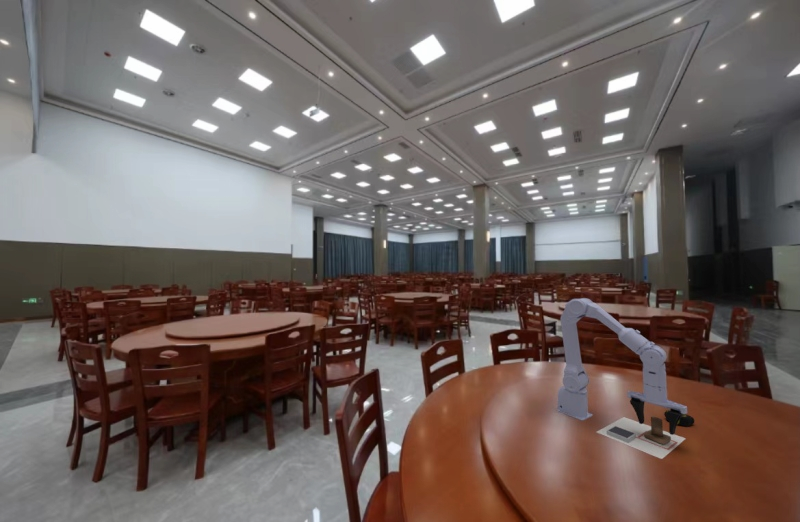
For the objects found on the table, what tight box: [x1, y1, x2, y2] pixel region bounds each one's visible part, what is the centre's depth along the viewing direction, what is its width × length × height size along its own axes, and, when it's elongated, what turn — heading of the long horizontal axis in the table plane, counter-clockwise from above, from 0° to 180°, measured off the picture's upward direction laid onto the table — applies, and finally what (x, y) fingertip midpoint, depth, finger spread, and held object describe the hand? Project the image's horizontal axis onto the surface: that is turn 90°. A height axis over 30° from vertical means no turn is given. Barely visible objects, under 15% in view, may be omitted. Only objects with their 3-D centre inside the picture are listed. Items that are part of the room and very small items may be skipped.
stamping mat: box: [596, 416, 687, 460], centre depth 96 cm, size 17×21×2 cm
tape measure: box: [663, 409, 695, 427], centre depth 105 cm, size 7×7×4 cm
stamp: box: [644, 416, 671, 445], centre depth 93 cm, size 5×5×6 cm
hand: (656, 428), depth 93 cm, fingers open, 7 cm apart
